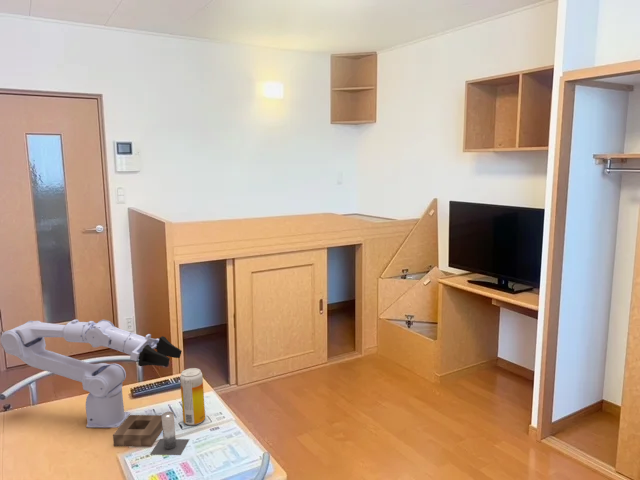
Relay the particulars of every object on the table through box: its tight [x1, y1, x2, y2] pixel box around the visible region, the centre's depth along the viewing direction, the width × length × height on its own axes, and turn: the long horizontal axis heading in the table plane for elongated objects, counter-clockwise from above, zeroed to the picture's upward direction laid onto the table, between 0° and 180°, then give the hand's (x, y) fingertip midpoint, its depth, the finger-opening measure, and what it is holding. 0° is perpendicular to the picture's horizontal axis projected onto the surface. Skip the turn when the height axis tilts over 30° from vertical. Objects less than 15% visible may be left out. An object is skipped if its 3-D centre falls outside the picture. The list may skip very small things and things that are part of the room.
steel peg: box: [161, 411, 177, 450], centre depth 128 cm, size 3×3×9 cm
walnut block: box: [112, 414, 163, 448], centre depth 134 cm, size 10×10×4 cm
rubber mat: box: [149, 438, 190, 456], centre depth 129 cm, size 8×7×1 cm
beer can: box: [179, 367, 206, 426], centre depth 140 cm, size 6×6×15 cm
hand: (174, 358), depth 136 cm, fingers open, 7 cm apart
